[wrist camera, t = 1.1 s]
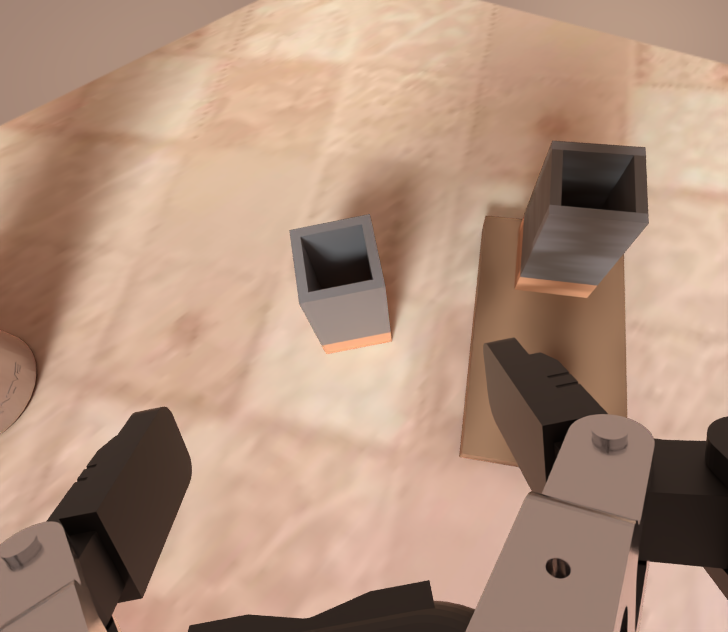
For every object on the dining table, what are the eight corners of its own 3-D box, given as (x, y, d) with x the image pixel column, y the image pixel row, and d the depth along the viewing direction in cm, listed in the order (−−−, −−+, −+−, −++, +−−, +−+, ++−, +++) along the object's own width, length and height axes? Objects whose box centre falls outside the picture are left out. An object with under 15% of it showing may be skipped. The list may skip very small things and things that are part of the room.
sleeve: (391, 341, 36) (385, 286, 27) (326, 354, 36) (299, 303, 27) (379, 282, 38) (369, 214, 29) (317, 294, 38) (289, 230, 29)
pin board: (459, 456, 33) (482, 430, 22) (482, 229, 39) (508, 124, 28) (615, 483, 31) (721, 469, 20) (612, 242, 37) (692, 136, 27)
